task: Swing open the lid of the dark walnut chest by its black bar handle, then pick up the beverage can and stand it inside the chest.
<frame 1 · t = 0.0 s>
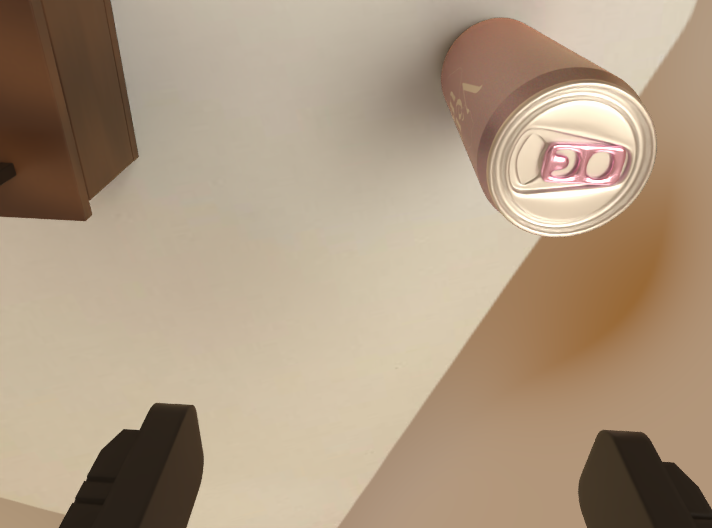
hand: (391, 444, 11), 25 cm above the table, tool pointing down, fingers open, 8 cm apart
chest: (35, 67, 32), on the table
beverage can: (490, 71, 31), on the table
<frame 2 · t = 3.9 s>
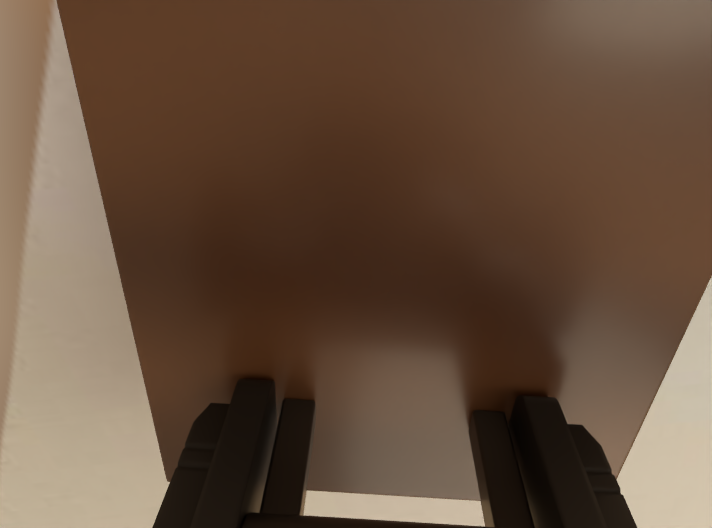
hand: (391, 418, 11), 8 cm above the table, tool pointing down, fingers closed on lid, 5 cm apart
lid: (409, 373, 8), point 9 cm above the table, hinge at -0.3°, touching gripper
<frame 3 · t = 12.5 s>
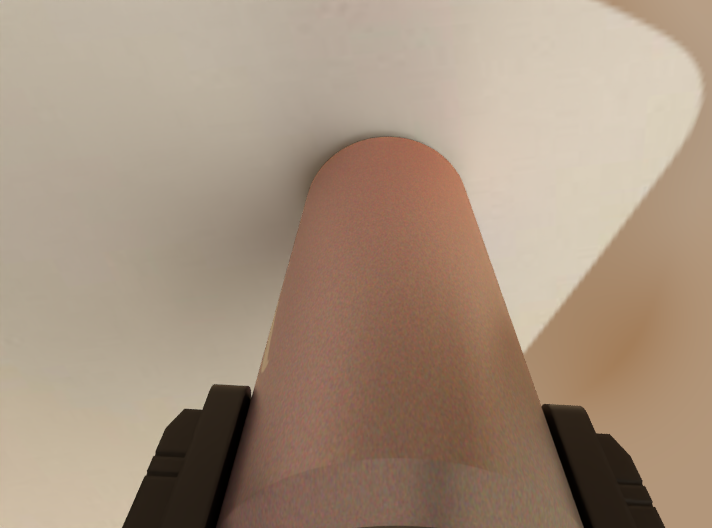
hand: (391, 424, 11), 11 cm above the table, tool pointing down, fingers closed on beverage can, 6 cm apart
beverage can: (386, 205, 20), on the table, touching gripper
when the fingers open (11 cm above the table, at t = 20.7 s): beverage can stays where it is, resting on chest.
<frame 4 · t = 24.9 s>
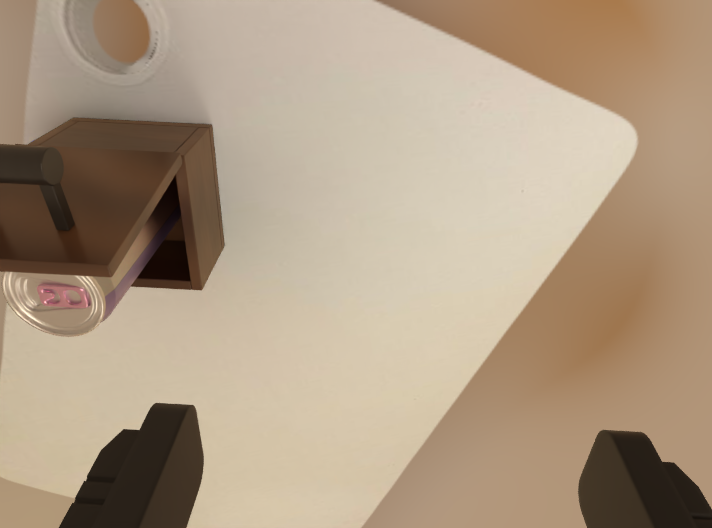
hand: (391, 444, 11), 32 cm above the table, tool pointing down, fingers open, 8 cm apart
chest: (153, 185, 43), on the table
lid: (43, 166, 28), point 13 cm above the table, hinge at 82.4°
beverage can: (152, 188, 42), point 1 cm above the table, touching chest
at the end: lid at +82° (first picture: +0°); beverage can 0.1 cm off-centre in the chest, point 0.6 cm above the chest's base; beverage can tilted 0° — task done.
